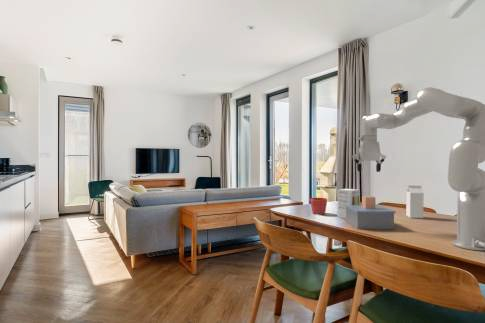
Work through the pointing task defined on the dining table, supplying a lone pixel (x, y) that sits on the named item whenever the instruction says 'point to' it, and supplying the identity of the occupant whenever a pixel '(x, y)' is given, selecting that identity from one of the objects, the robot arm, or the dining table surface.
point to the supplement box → (346, 200)
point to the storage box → (370, 220)
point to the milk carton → (414, 202)
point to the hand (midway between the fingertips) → (368, 171)
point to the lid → (369, 206)
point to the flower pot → (318, 205)
